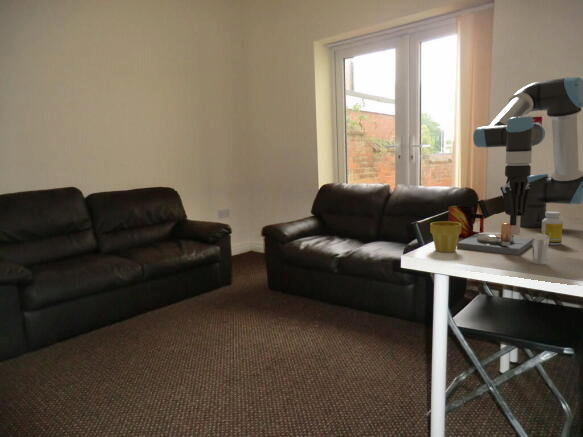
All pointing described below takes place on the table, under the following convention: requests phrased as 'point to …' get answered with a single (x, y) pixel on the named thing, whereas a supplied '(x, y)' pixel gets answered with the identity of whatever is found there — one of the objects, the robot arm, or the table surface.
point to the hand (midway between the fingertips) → (514, 234)
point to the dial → (498, 236)
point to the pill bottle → (552, 227)
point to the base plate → (495, 245)
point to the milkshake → (540, 248)
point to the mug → (465, 219)
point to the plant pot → (445, 235)
